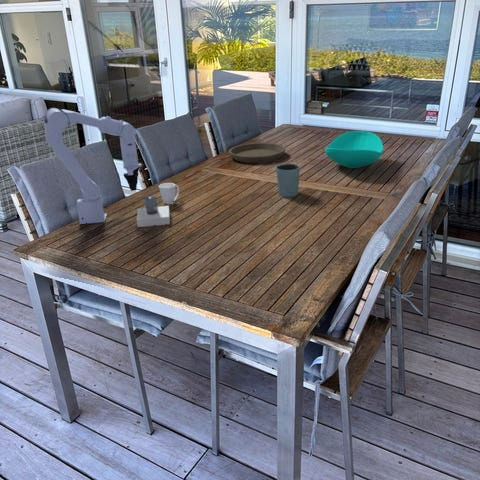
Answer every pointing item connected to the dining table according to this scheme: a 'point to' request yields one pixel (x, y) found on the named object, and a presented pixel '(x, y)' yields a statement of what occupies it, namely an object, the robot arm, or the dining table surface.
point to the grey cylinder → (151, 204)
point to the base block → (153, 217)
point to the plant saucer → (257, 152)
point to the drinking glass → (288, 179)
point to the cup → (168, 192)
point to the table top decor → (355, 149)
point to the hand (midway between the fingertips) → (134, 187)
